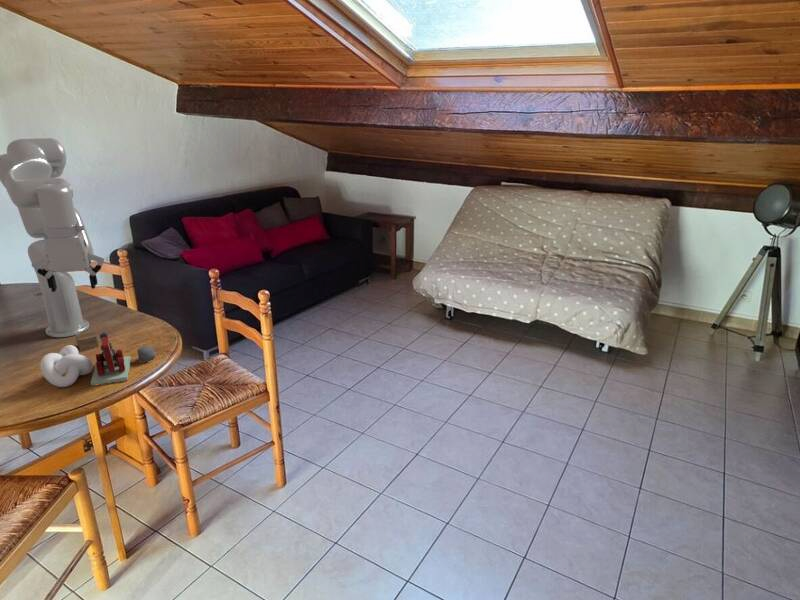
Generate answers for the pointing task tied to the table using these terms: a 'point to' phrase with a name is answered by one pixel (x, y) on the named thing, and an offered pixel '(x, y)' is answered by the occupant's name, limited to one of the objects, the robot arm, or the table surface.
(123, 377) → the board
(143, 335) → the table surface
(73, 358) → the white knot
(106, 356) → the red wheeled piece
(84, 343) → the walnut block
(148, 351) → the grey rounded pebble
